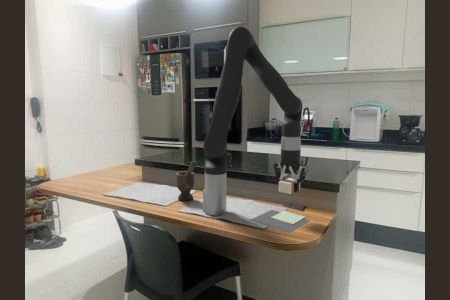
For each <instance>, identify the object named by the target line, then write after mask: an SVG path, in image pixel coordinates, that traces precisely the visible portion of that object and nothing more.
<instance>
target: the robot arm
mask: <svg viewBox="0 0 450 300" xmlns="http://www.w3.org/2000/svg"><path fill="white" fill-rule="evenodd" d="M224 59H225V60H224V62H223V67H222V70H221V75H220V78H219V83H218V85H217V88H216V89H217V90H216V92H215V98H214V103H213V109H212V114H211V122H210V125H209V127H208V131H207V134H206V136H205V140H204V141H203V145H202V147H203V151H204V154H205V160H204V173H203V174H204V189H203V190H202V211H203V212H204V213H205V214H206V215H208V216H222V215H225V214H226V213H227V167H228V166H227V165H228V142H227V138H228V132H229V128H230V125H231V122H232V119H233V117H234V114H235V112H236V110H237V106H238V103H239V100H240V96H241V92H242V84H243V66H244V62H246V63H247V64H249V65H250V67H251V68H252V69H253V71H254V72H255V74H256V75H257V77H258V79H259V80H260V82H262V84H263V86H264V87H265V88H266V89H267V91H268V92H269V93H270V94H271V95H272V96H273V98H274V100H275V102H276V104H278V106H279V107H280V109H281V110H282V111H283V115H284V116H283V122H282V125H281V139H280V162H276V163H274V164H273V170H274V174H275V178H276V179H278V180H279V181H281V180H285V179H287V178H286V177H287V175H291V177H292V179H294V182H295V183H294V194H295V193H298V192H299V191H300V190H299V183H300V184H301V183H303V182H305V181H306V175H307V172H308V167H307V166H304V165H301V155H302V153H301V150H302V140H301V130H302V128H301V126H302V125H301V123H302V114H303V101H302V99H301V98H300V97H299V96H297V95H295V93H294V92H293V91H292V89H291V88H290V87H289V86H288V83H287V82H286V80H285V79H284V78H283V76H282V75H281V74H280V72H279V71H278V70H277V69H276V68H275V67H274V66H273V65H272V64H271V63H270V61H268V60H267V57H265V55H264V54H263V52H262V51H261V50H260V48H259V46H258V43H256V40H255V36H254V35H253V34H252V33H251V31H250V30H249V29H247V28H246V27H245V26H236V27H234V29H232V30H231V31H230V33H229V35H228V39H227V45H226V53H225V58H224ZM281 169H282V170H281Z"/></svg>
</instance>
